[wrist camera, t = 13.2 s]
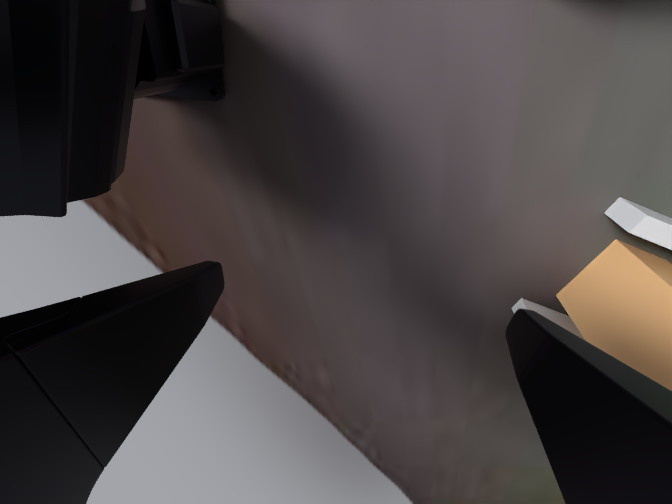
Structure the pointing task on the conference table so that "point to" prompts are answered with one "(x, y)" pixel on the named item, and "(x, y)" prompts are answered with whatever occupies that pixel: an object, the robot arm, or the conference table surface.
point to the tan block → (626, 308)
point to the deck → (634, 222)
